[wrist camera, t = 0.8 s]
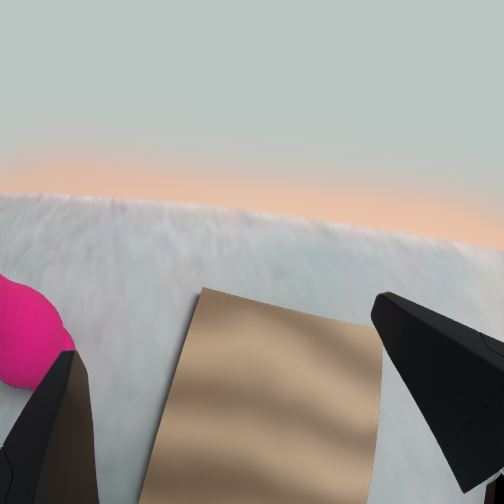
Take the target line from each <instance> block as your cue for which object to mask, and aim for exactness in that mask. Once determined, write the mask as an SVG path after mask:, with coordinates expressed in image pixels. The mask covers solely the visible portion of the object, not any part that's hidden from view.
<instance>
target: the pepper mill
mask: <svg viewBox="0 0 504 504" xmlns="http://www.w3.org/2000/svg"><path fill="white" fill-rule="evenodd" d="M70 349H75V345H74V342H73V340H72V338H71V336H70V334H69V333H68V332H67V330H66V329H65V328H64V327H63V323H62V320H61V318H60V315H59V313H58V312H57V310H56V309H55V307H54V306H53V305H52V304H51V303H50V302H49V301H48V300H47V299H46V298H45V297H44V296H43V295H42V294H40V293H39V292H38V291H36V290H34V289H32V288H31V287H28V286H26V285H23V284H19V283H16V282H13V281H10V280H8V279H7V278H5V277H4V276H2V275H1V274H0V380H1V381H3V382H4V383H6V384H8V385H10V386H13V387H17V388H29V389H31V390H33V391H35V390H36V388H37V387H38V385H39V384H40V382H41V380H42V379H43V377H44V376H45V374H46V373H47V371H48V370H49V368H50V367H51V365H52V364H53V362H54V361H55V360H56V358H57V357H58V355H59V354H60V352H61V351H63V350H70ZM75 350H76V349H75Z"/></svg>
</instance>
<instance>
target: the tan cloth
mask: <svg viewBox="0 0 504 504" xmlns="http://www.w3.org/2000/svg"><path fill="white" fill-rule="evenodd" d="M382 352H383V343H382V340H381V338H380V336H379V334H378V332H377V330H376V329H375V328H370V327H365V326H360V325H356V324H351V323H346V322H342V321H337V320H333V319H328V318H324V317H320V316H315V315H311V314H307V313H302V312H298V311H294V310H290V309H286V308H282V307H277V306H273V305H269V304H265V303H261V302H257V301H253V300H250V299H246V298H242V297H238V296H234V295H230V294H226V293H223V292H219V291H215V290H211V289H208V288H204V287H203V288H202V291H201V294H200V297H199V300H198V303H197V306H196V309H195V312H194V315H193V318H192V321H191V324H190V327H189V330H188V334H187V337H186V340H185V343H184V346H183V349H182V353H181V356H180V359H179V362H178V365H177V369H176V372H175V375H174V379H173V382H172V385H171V388H170V392H169V395H168V398H167V402H166V405H165V409H164V412H163V416H162V419H161V422H160V426H159V429H158V433H157V436H156V440H155V444H154V447H153V451H152V454H151V458H150V462H149V465H148V469H147V473H146V476H145V480H144V484H143V488H142V492H141V496H140V499H139V503H138V504H367V499H368V493H369V488H370V482H371V476H372V469H373V463H374V455H375V448H376V439H377V430H378V420H379V409H380V396H381V379H382Z"/></svg>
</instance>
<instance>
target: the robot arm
mask: <svg viewBox="0 0 504 504" xmlns="http://www.w3.org/2000/svg"><path fill="white" fill-rule="evenodd" d="M371 319H372V322H373V324H374V326H375V328H376V330H377V332H378V334H379V336H380V338H381V340H382V343H383V345H384V347H385V349H386V351H387V353H388V355H389V357H390V359H391V361H392V362H393V364H394V366H395V367H396V369H397V371H398V372H399V374H400V376H401V378H402V379H403V381H404V383H405V384H406V386H407V388H408V390H409V391H410V393H411V395H412V397H413V398H414V400H415V402H416V404H417V405H418V407H419V409H420V411H421V413H422V414H423V416H424V418H425V420H426V422H427V424H428V425H429V427H430V429H431V431H432V433H433V435H434V437H435V438H436V440H437V442H438V444H439V446H440V448H441V450H442V452H443V454H444V456H445V458H446V460H447V462H448V464H449V466H450V468H451V470H452V472H453V474H454V476H455V478H456V480H457V482H458V484H459V486H460V488H461V490H462V492H463V493H464V494H465V493H466V492H468V491H470V490H471V489H473V488H474V487H476V486H478V485H479V484H481V483H482V482H484V481H485V480H487V479H488V478H490V477H491V476H492V475H494V474H495V473H497V472H498V471H499V470H500V472H499V473H498V474H497V475H496V476H495V477H494V478H493V479H492V480H491V481H490V482H489V483H488V484H487V486H486V494H485V501H484V504H504V342H501V341H499V340H497V339H494V338H492V337H490V336H487V335H485V334H483V333H481V332H478V331H476V330H474V329H472V328H470V327H468V326H465V325H463V324H461V323H459V322H457V321H454V320H452V319H450V318H448V317H446V316H443V315H441V314H439V313H437V312H434V311H432V310H430V309H428V308H425V307H423V306H421V305H419V304H416V303H414V302H412V301H410V300H407V299H405V298H403V297H401V296H398V295H396V294H394V293H391V292H384V293H380V294H378V295H377V296H376V299H375V302H374V305H373V308H372V311H371ZM0 504H99V497H98V489H97V479H96V467H95V453H94V431H93V419H92V411H91V403H90V393H89V383H88V374H87V370H86V368H85V366H84V364H83V362H82V360H81V358H80V356H79V353H78V352H77V351H76V350H75V349H70V350H63V351H61V352H60V354H59V355H58V357H57V358H56V360H55V361H54V362H53V364H52V365H51V367H50V368H49V370H48V371H47V373H46V374H45V376H44V377H43V379H42V380H41V382H40V384H39V385H38V387H37V388H36V390H35V391H34V393H33V394H32V396H31V398H30V399H29V401H28V402H27V404H26V406H25V407H24V409H23V411H22V412H21V414H20V416H19V417H18V419H17V421H16V422H15V424H14V426H13V428H12V429H11V431H10V433H9V435H8V436H7V438H6V440H5V442H4V443H3V447H1V449H0Z"/></svg>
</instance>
